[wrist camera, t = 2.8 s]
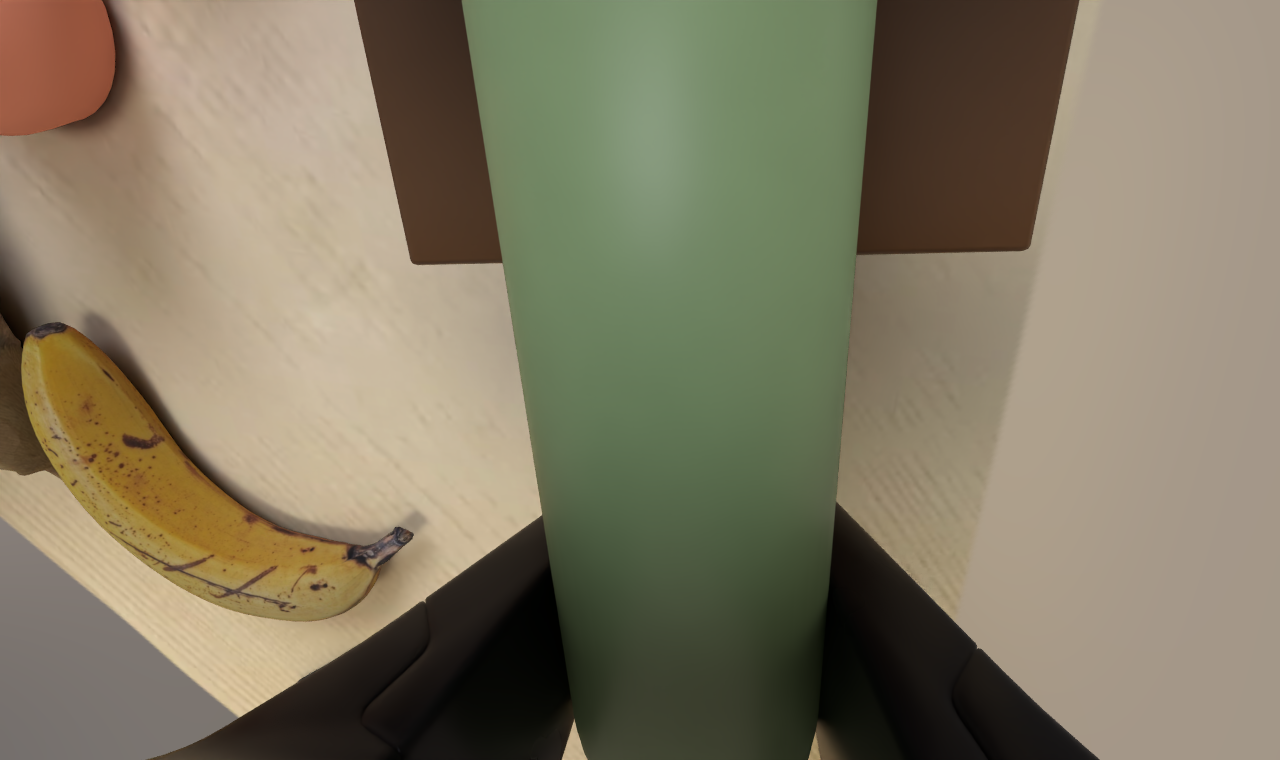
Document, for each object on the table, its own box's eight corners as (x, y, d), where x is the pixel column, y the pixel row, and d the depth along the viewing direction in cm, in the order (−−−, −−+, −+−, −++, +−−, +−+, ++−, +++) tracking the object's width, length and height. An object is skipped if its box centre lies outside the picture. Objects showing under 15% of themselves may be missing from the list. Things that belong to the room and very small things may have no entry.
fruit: (430, 527, 25) (390, 579, 22) (329, 628, 28) (284, 683, 26) (97, 262, 22) (6, 284, 19) (34, 411, 26) (-50, 448, 23)
